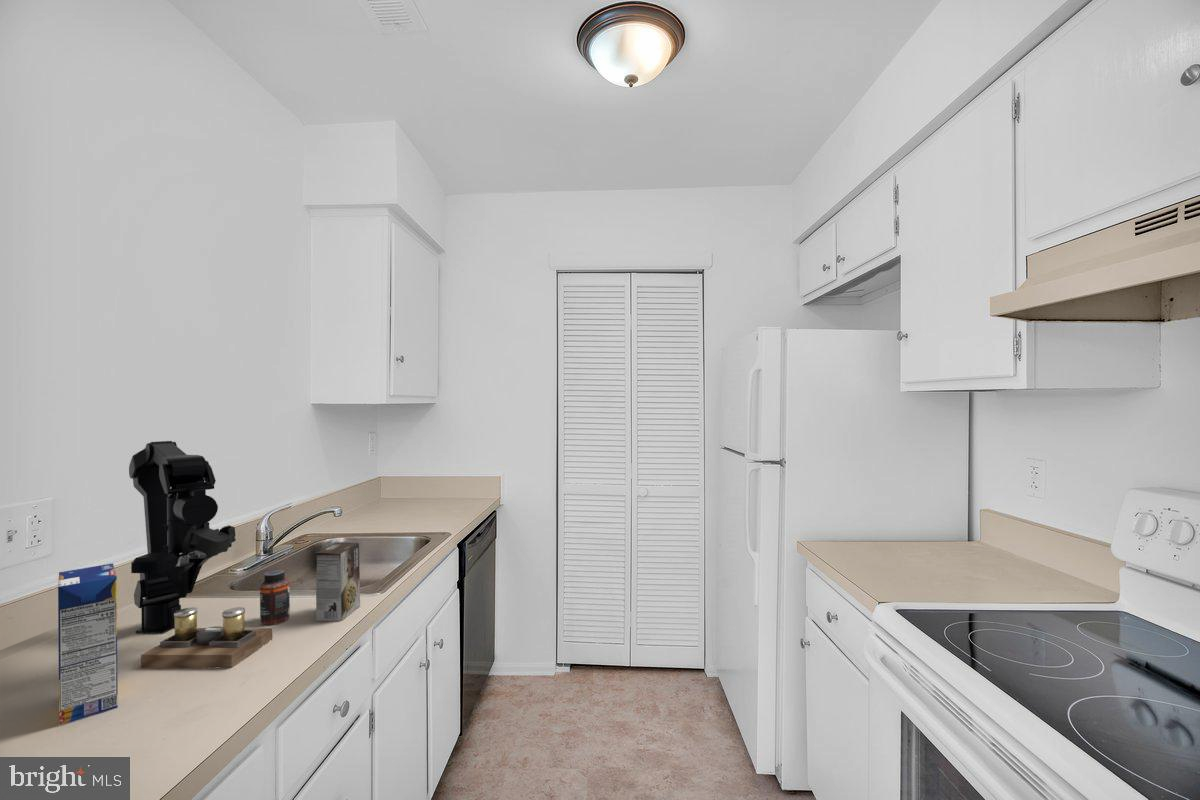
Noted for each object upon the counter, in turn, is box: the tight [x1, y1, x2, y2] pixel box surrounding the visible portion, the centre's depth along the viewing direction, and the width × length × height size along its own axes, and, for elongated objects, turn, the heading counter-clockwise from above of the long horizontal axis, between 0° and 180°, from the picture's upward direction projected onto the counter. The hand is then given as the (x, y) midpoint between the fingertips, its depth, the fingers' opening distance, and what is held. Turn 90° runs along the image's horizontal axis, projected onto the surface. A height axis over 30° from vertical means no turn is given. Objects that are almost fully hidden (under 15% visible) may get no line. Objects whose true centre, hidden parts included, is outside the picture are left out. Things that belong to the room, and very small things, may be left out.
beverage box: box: [57, 563, 119, 726], centre depth 89 cm, size 7×11×22 cm, turn 45°
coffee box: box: [314, 541, 361, 622], centre depth 127 cm, size 9×6×16 cm
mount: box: [140, 627, 274, 669], centre depth 107 cm, size 18×12×4 cm, turn 88°
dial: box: [196, 625, 223, 645], centre depth 107 cm, size 5×4×2 cm
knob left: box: [174, 606, 198, 641], centre depth 107 cm, size 4×4×6 cm
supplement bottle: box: [259, 569, 291, 626], centre depth 123 cm, size 6×6×11 cm
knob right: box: [221, 606, 246, 641], centre depth 107 cm, size 4×4×6 cm
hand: (185, 594), depth 107 cm, fingers closed
